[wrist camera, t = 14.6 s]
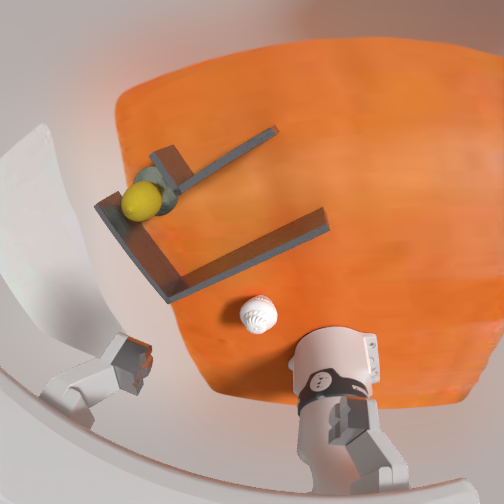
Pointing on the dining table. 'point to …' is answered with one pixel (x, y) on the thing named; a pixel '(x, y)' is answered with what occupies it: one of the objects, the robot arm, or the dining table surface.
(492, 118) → the dining table surface
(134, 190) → the lemon
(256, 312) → the white rounded piece
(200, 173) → the rail corridor
